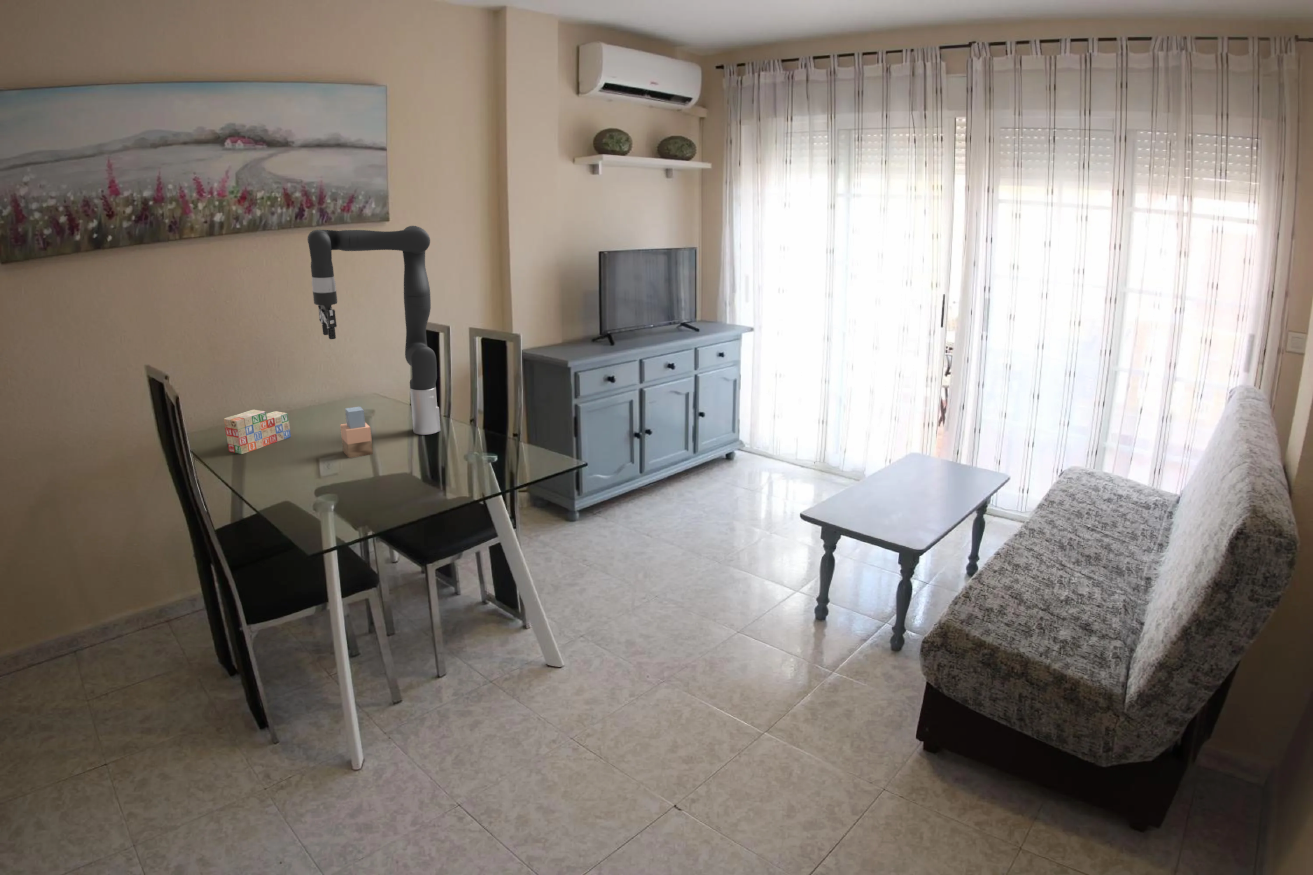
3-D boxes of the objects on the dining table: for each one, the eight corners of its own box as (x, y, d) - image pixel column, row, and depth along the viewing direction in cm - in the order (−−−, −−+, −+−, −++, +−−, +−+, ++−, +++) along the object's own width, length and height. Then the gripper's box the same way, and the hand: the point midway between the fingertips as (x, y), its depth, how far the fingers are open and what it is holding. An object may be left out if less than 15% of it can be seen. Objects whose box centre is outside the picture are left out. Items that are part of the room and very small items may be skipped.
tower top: (365, 434, 284) (363, 421, 283) (371, 440, 278) (370, 426, 277) (341, 438, 280) (340, 424, 278) (347, 444, 274) (346, 430, 272)
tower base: (366, 447, 286) (365, 434, 284) (372, 454, 280) (371, 440, 278) (343, 451, 282) (341, 438, 280) (349, 458, 275) (347, 444, 274)
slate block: (361, 422, 281) (360, 406, 279) (365, 426, 277) (363, 410, 275) (346, 425, 278) (345, 408, 276) (350, 428, 274) (348, 412, 272)
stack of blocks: (278, 434, 297) (274, 402, 294) (291, 437, 295) (287, 405, 291) (228, 451, 279) (223, 417, 275) (241, 454, 276) (236, 420, 273)
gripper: (340, 292, 272) (345, 339, 277) (330, 287, 283) (335, 332, 288) (317, 293, 268) (322, 341, 273) (308, 288, 279) (313, 334, 284)
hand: (329, 336), depth 281 cm, fingers open, 8 cm apart
